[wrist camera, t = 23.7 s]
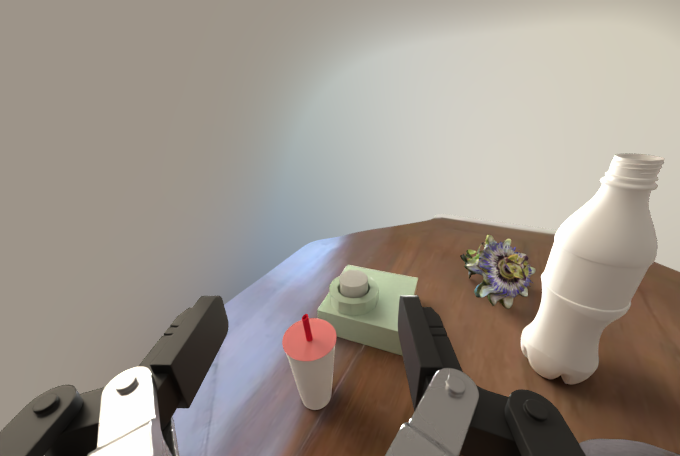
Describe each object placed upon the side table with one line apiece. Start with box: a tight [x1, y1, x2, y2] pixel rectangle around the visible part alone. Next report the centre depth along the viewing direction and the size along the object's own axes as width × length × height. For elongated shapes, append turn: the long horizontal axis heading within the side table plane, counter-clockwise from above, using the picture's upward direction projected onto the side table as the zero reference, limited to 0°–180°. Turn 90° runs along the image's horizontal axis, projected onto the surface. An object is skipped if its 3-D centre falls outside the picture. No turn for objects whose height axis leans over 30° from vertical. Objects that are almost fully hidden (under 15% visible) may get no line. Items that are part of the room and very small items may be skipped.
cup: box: [282, 314, 337, 410], centre depth 29 cm, size 5×5×12 cm
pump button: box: [339, 270, 368, 298], centre depth 39 cm, size 4×4×2 cm
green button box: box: [317, 265, 418, 356], centre depth 41 cm, size 12×12×6 cm
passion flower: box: [461, 234, 535, 309], centre depth 45 cm, size 11×11×12 cm
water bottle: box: [521, 153, 664, 385], centre depth 28 cm, size 7×7×25 cm
